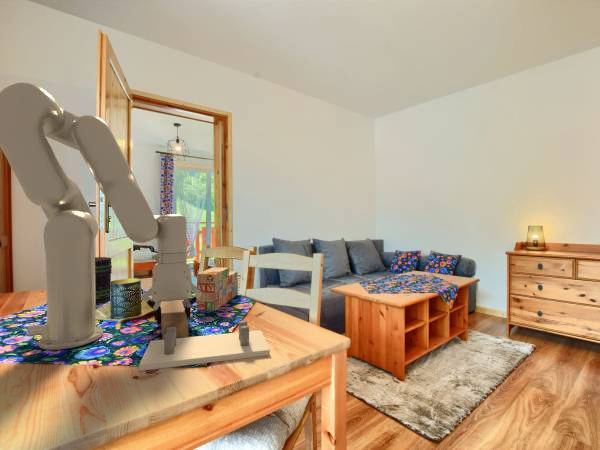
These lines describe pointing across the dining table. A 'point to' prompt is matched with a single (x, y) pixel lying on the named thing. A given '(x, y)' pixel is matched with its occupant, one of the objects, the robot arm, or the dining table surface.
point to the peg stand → (203, 348)
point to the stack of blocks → (216, 288)
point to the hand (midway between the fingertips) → (173, 321)
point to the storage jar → (102, 279)
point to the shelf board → (174, 318)
